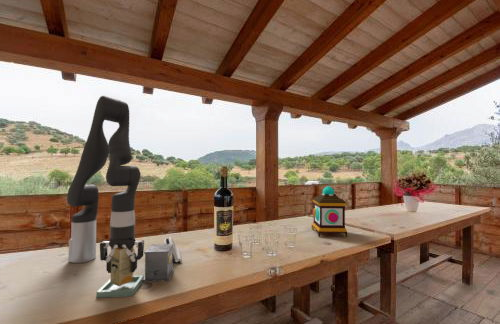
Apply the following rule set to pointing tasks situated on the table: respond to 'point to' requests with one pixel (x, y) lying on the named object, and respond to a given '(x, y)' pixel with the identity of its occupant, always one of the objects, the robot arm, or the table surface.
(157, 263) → the box
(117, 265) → the shoe polish box
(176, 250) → the white piece
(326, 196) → the decorative lantern
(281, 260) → the table surface
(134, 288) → the tray
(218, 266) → the table surface
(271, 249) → the table surface
